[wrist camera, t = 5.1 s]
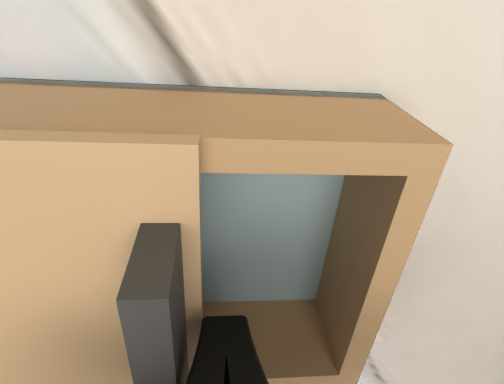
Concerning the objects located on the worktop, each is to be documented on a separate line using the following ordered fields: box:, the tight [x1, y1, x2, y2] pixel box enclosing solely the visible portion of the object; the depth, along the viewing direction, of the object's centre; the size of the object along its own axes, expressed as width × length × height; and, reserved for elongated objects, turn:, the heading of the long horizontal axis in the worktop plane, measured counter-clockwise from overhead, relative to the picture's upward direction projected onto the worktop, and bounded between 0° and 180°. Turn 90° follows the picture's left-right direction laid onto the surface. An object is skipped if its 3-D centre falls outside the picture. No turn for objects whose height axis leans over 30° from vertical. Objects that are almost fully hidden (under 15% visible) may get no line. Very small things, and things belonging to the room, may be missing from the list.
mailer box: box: [0, 78, 453, 384], centre depth 13 cm, size 20×12×5 cm, turn 87°
